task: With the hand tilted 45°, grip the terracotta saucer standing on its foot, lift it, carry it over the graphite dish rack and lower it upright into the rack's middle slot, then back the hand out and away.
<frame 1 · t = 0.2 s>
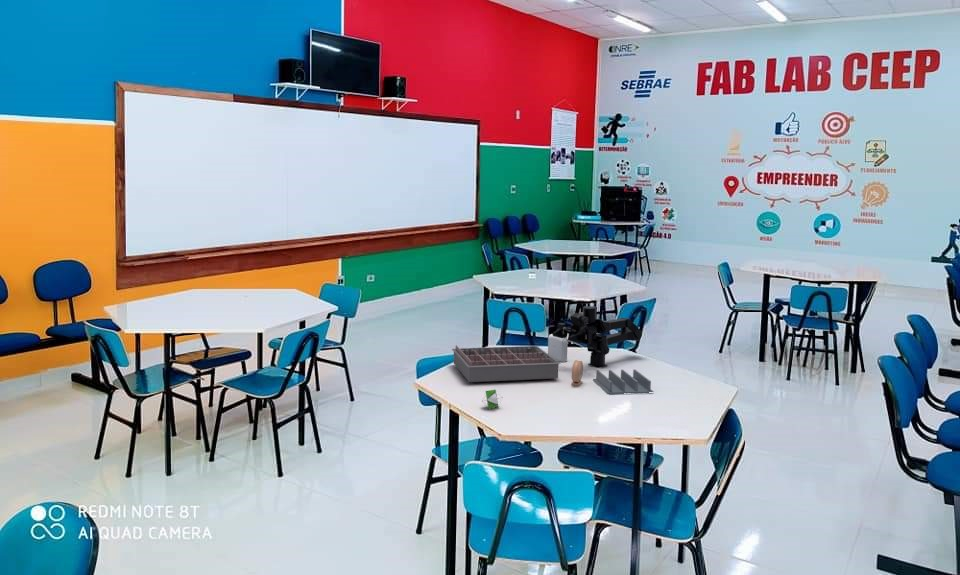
hand: (560, 336, 326), 17 cm above the table, tool horizontal, fingers open, 9 cm apart
dish rack: (622, 386, 312), on the table
geometric puzzle: (491, 408, 281), on the table
saucer: (576, 384, 314), on the table
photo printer: (557, 360, 354), on the table
organizer tray: (504, 374, 328), on the table
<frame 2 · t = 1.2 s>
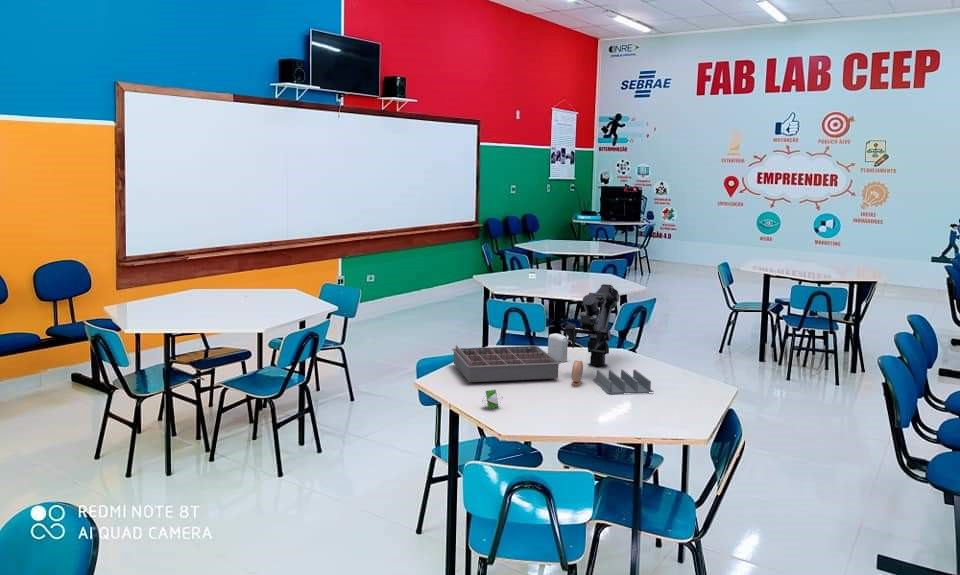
hand: (583, 348, 319), 13 cm above the table, tool tilted 45°, fingers open, 9 cm apart
nothing on the table moved.
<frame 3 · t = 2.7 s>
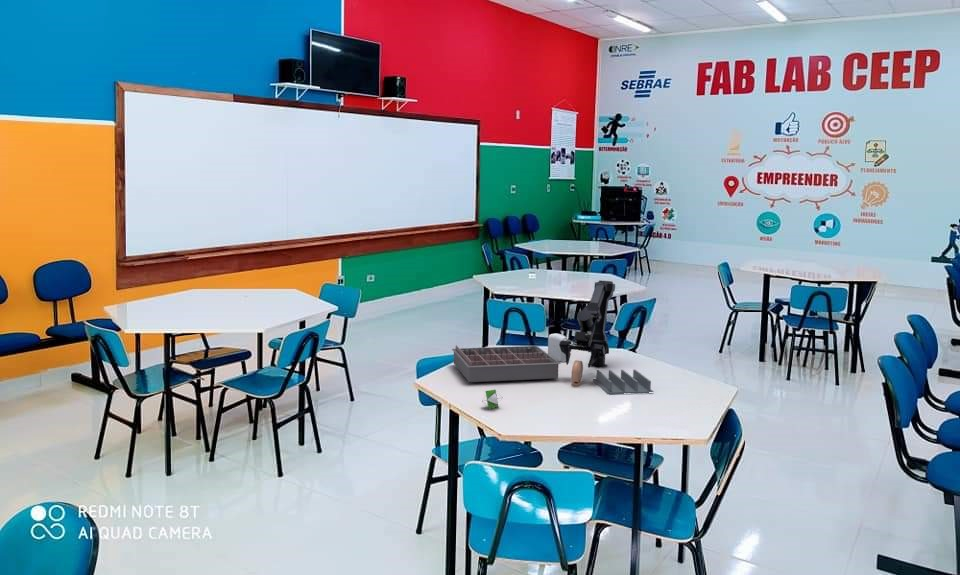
hand: (577, 365, 313), 8 cm above the table, tool tilted 45°, fingers open, 9 cm apart
nothing on the table moved.
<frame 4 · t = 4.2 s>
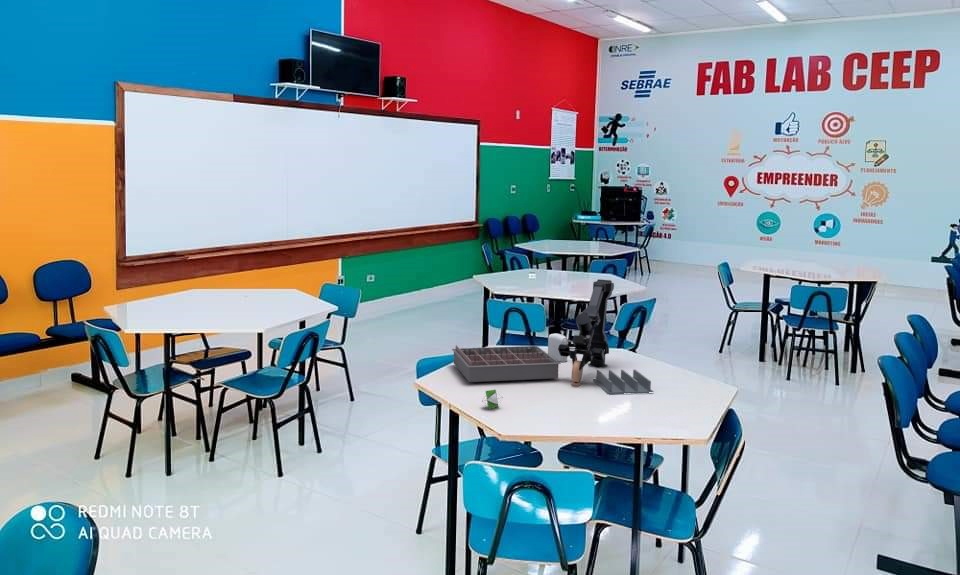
hand: (576, 369, 312), 7 cm above the table, tool tilted 45°, fingers closed on saucer, 2 cm apart
saucer: (576, 384, 314), on the table, touching gripper
everything else where it was.
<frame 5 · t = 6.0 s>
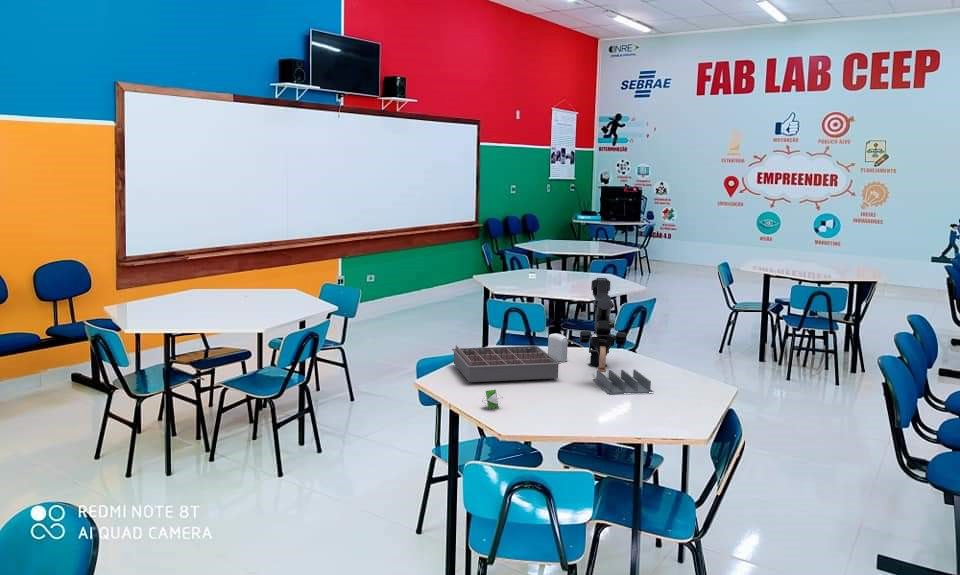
hand: (602, 355, 308), 13 cm above the table, tool tilted 45°, fingers closed on saucer, 2 cm apart
saucer: (601, 370, 310), point 7 cm above the table, touching gripper
everything else where it was.
when the fingers open (9 cm above the table, at t = 8.3 s): saucer drops 1 cm, resting on dish rack.
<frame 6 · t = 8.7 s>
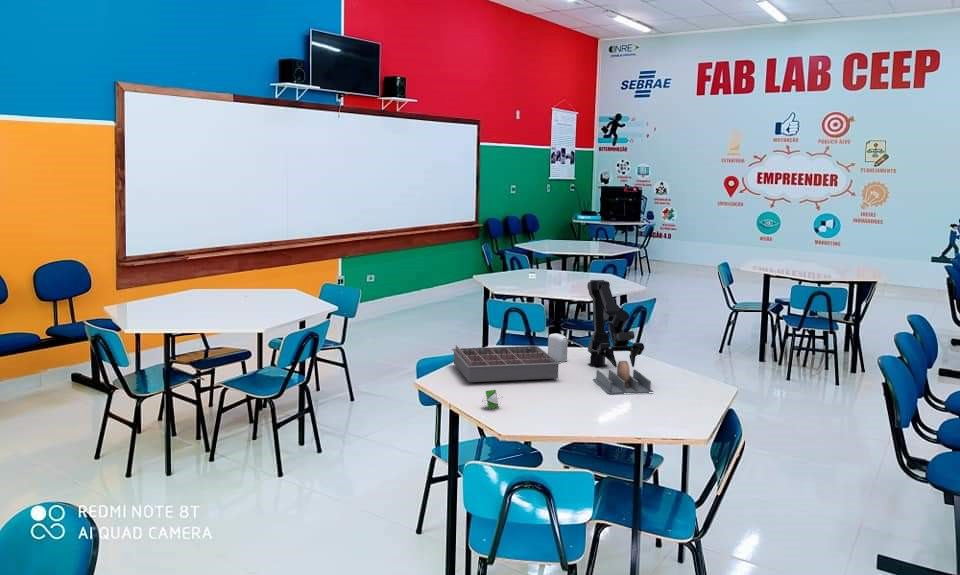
hand: (624, 366, 309), 9 cm above the table, tool tilted 45°, fingers open, 7 cm apart
saucer: (622, 385, 312), point 1 cm above the table, touching dish rack
everything else where it was.
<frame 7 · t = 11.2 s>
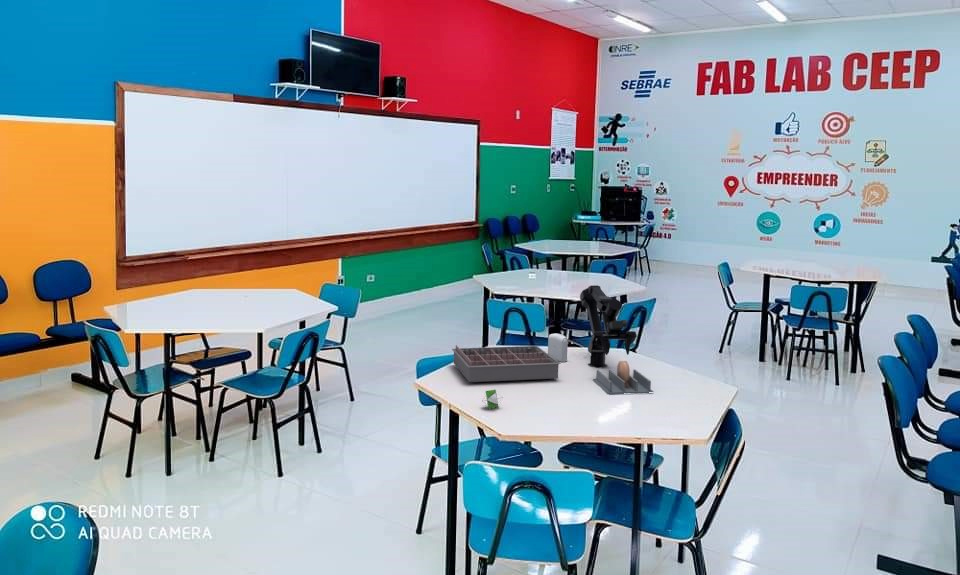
hand: (617, 354, 318), 12 cm above the table, tool tilted 45°, fingers open, 9 cm apart
nothing on the table moved.
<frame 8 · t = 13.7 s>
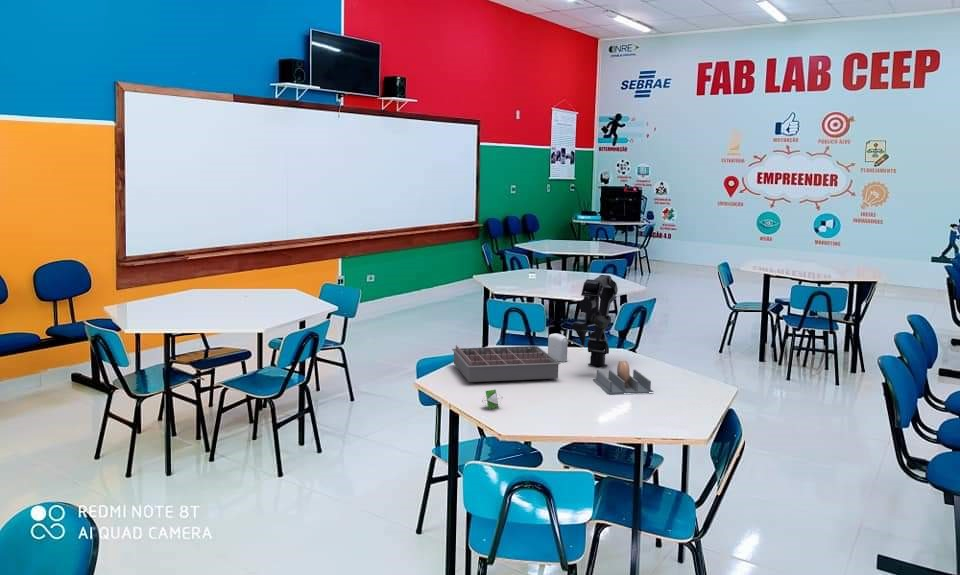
hand: (590, 343, 331), 13 cm above the table, tool pointing down, fingers open, 9 cm apart
nothing on the table moved.
at the end: saucer 0.0 cm off-centre on the dish rack, point 0.8 cm above the dish rack's base; saucer tilted 0°; the gripper is holding nothing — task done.
